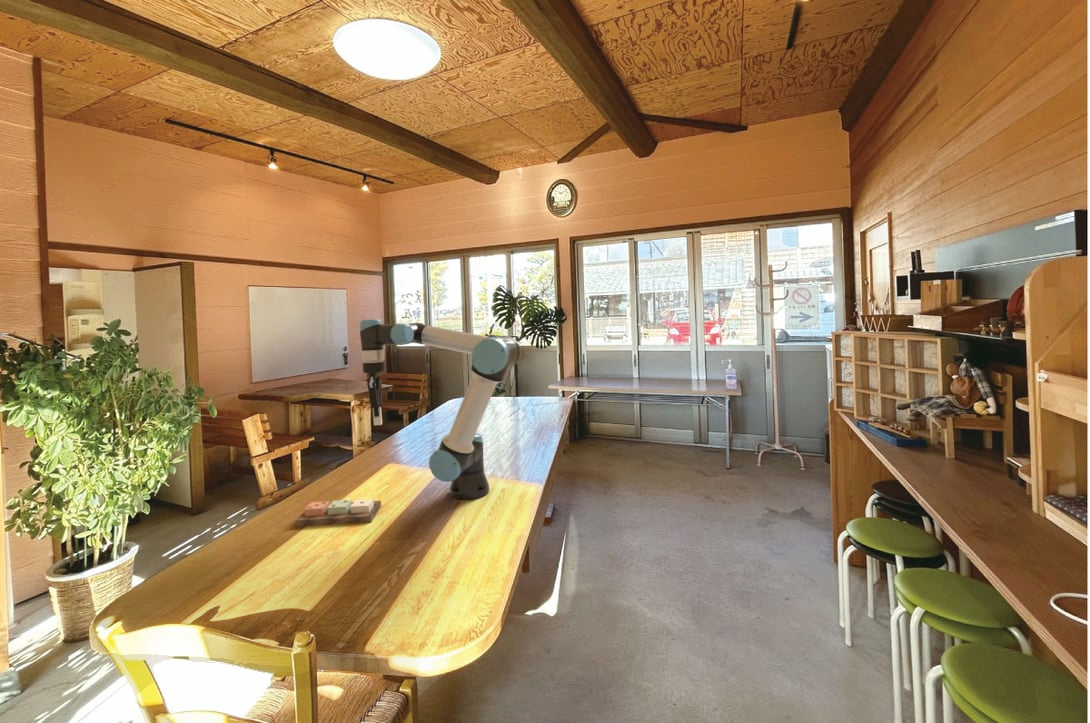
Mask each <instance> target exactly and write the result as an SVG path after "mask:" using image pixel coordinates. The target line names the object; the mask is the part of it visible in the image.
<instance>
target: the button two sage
mask: <svg viewBox="0 0 1090 723" xmlns="http://www.w3.org/2000/svg"><path fill="white" fill-rule="evenodd" d="M352 502H353V501H352V499H342V500H341V499H339V500H333V501H332V502H331V503H329V504H330V505H329V507H328V508H327V509H328V515H334V514H347V513H348V512H349V511H350V510H351V508H350V507H351V505H352Z"/></svg>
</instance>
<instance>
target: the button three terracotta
mask: <svg viewBox="0 0 1090 723" xmlns="http://www.w3.org/2000/svg"><path fill="white" fill-rule="evenodd" d="M330 504H331V503H330V501H312V502H310V503H308V505H307V506H306V507H305V508H304V509H303V511H304V512H303V513H305V516H318V515H325V514H326V513H327V511H328V509H327V508H328V507H329V505H330Z"/></svg>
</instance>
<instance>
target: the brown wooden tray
mask: <svg viewBox="0 0 1090 723" xmlns="http://www.w3.org/2000/svg"><path fill="white" fill-rule="evenodd" d="M354 502H355V501H352V504H353V503H354ZM381 507H382V501H381V500H374V507H373V509H372V510H371V512H367V513H351V510H350V511H349V512H348V513H347V514H334V515H328V511H327V513H326V514H325V515H318V516H305V513H304V512H303V513H302V514H301V515H299V516H298V518H296V519H295V528H301V527H303V528H304V527H317V526H329V525H330V526H332V525H347V524H348V525H349V524H351V525H352V524H362V523H363V524H364V523H365V524H367V523H372V521H373V520H374V519H375V517H376V515H377V514H378V512H379V511H380V509H381Z"/></svg>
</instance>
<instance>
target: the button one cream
mask: <svg viewBox="0 0 1090 723" xmlns="http://www.w3.org/2000/svg"><path fill="white" fill-rule="evenodd" d="M374 501H375V500H374V498H365V499H364V498H363V499H355V501H353V502H354V503H353V504H352V505H351V507H350V508H351V513H367V512H371V510H372V509H373V507H374Z"/></svg>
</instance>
